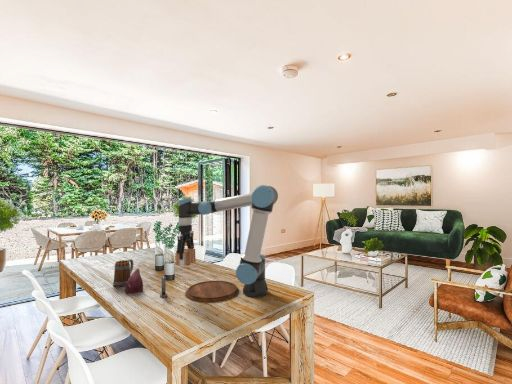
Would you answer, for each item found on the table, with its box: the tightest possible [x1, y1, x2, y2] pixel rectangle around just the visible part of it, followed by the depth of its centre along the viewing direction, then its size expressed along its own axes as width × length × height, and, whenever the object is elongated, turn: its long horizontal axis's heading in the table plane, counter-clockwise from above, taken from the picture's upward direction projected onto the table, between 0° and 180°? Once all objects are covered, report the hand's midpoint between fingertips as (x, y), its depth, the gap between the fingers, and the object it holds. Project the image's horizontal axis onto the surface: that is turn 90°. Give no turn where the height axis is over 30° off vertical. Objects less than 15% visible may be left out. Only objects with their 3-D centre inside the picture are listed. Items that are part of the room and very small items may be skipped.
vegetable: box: [124, 267, 144, 295], centre depth 165 cm, size 10×10×15 cm
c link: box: [175, 248, 196, 267], centre depth 158 cm, size 8×8×8 cm
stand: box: [159, 276, 168, 298], centre depth 155 cm, size 4×4×11 cm
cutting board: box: [184, 280, 240, 304], centre depth 162 cm, size 32×32×3 cm
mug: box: [112, 258, 134, 288], centre depth 179 cm, size 16×11×15 cm
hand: (186, 263), depth 158 cm, fingers closed on c link, 8 cm apart
